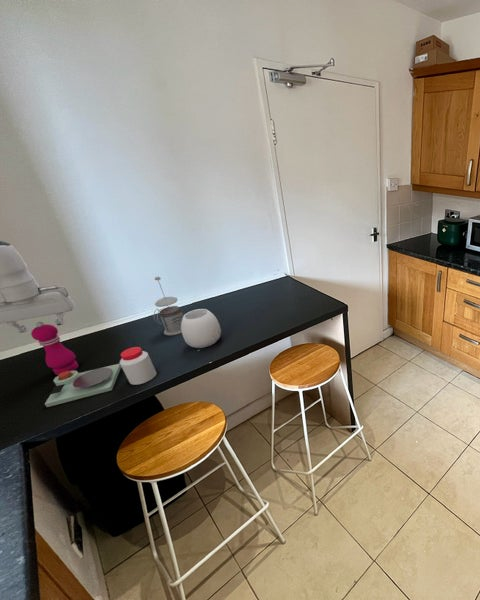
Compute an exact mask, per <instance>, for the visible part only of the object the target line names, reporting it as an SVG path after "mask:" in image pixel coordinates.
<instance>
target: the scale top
mask: <svg viewBox="0 0 480 600" xmlns="http://www.w3.org/2000/svg"><path fill="white" fill-rule="evenodd" d="M88 371H89V372H86V371H85V372H86V373H84V374H82V375H81V376H79V377H78V378H77V379H75V381H74V382H73V386H74V387H75V388H78V389H82V388H88V387H92V386H95V385H97V384H100V383H102V382H103V381H105V380H107V379H108V378H109V377H110V376H111V375H112V373H113V371H112V369H110V368H103V367H99V368H98V367H97V368H95V369H91V371H90V370H88ZM64 385H65V384H62V385H58V386H56V385H54V387H53V389H52V390H51V392H50V393H49V396H50V395H51V394H54V393H58V392H61V390H62V389H63V387H64Z"/></svg>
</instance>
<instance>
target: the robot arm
mask: <svg viewBox="0 0 480 600" xmlns="http://www.w3.org/2000/svg"><path fill="white" fill-rule="evenodd" d="M75 307H76V303H75V302H74V300H73V298H72V297H71V296H70V295H69V292H68V290H67V288H65V287H64V286H60V285H52V286H51V285H50V286H43V287H42V286H41V287H40V285H39V283H38V282H37V280H36V277H34V275H32V274H31V272H30V271H29V269H28V265H27V263H26V261H25V260H24V258H23V257H22V255H21V254H20V252H19V251H18V250H17V248H15V246H13V245H12V244H10V243H9V242H6V241H4V240H3V241H2V240H0V325H1V324H6V325H7V326H8V327H10V328H13V329H15V330H16V331H17V333H19V334H22V333H26V332H28V328H27V327H26V325H25V324H24V325H21V324H19V323H18V321H24V320H30V319H34V318H40V317H45V316H52V315H55V316H56V317H58V318H57V319H56V320H55V321H54V322H55V324H56V326H63V325H65V324H66V321H65V320H64V316H65V313H69V312H71V311H73V310H74V308H75Z"/></svg>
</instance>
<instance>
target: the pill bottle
mask: <svg viewBox="0 0 480 600" xmlns="http://www.w3.org/2000/svg"><path fill="white" fill-rule="evenodd" d="M120 357H121V358H120V360H119V364H120V365H121V369H122V371H123V373H124V375H125V377H126V379H127V380H128V383H129V384H130V385H133V386H135V385H136V386H137V385H142V384H146V383H147V382H150V381H151V380H152V379H154V378H155V377H156V376H157V371H156V368H155V365H154V364H153V361H152V359H151V356H150V355H149V352H147V351H145V350H143V349H142V347H140V346H134V347H129V348H127V349H125V350H123V351H122V352H121V353H120Z"/></svg>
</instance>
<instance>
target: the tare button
mask: <svg viewBox="0 0 480 600" xmlns="http://www.w3.org/2000/svg"><path fill="white" fill-rule="evenodd" d="M57 376H58V377H59V378H60V380H64V379H67V378H70V377H71V376H72V373H71V372H70V371H65V372H62V373H60V374H59V375H57Z"/></svg>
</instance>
